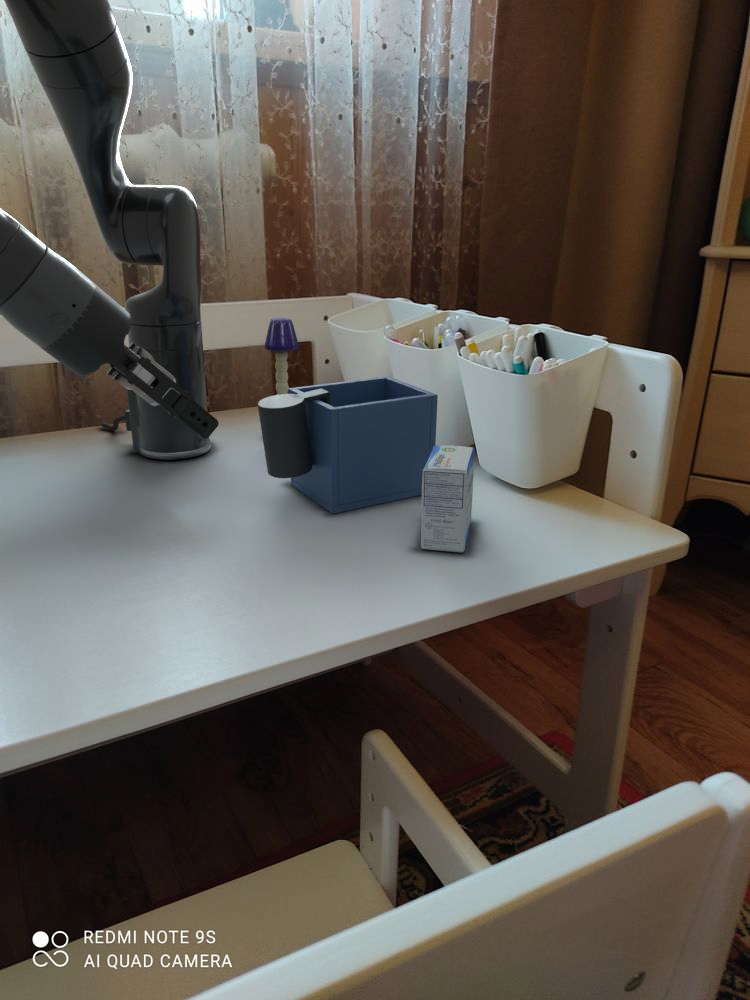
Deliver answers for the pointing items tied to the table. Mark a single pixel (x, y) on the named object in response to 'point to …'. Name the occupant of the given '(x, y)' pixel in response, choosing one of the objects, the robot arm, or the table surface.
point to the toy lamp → (281, 348)
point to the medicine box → (447, 498)
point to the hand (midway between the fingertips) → (197, 420)
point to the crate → (367, 442)
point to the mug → (287, 432)
